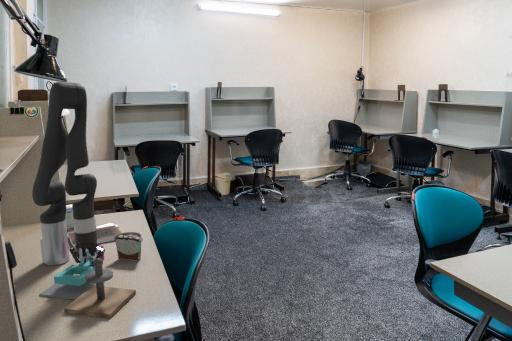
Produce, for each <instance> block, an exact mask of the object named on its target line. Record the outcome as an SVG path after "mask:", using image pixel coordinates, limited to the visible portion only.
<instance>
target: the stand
mask: <svg viewBox="0 0 512 341" xmlns="http://www.w3.org/2000/svg"><path fill="white" fill-rule="evenodd" d="M93 265H94V266H95V270H94V271H91V272H89V273H87V274H86V276H85V280H86V281H87V282H89V283H96V286H92V287H91V288H90V289H88V290H87V291H86V292H84V293H83V294H82V295H81V296H79V297H78V298H77V299H75V300H72V302H70V303H69V304H68V305H66V306H65V307H64V308H63V313H64V314H71V315H80V316H85V317H94V318H95V317H96V318H103V319H111V318H112V317H113V316H115V315H116V314H117V313H118V312H119V311H120V310H121V309H122V308H123V307H124V306H125V305H126V304H127V303H128V302H129V301H131V299H132V298H133V297H134V296H135V295H137V291H136V289H131V288H122V287H121V288H120V287H113V286H105V283H106V282H107V281H109V280H111V279H112V278H113V277H114V271H113V270H112V269H109V268H103V265H104V259H103V260H102V259H101V258H96V259H95V260H94V262H93Z"/></svg>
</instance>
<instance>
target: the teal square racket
mask: <svg viewBox="0 0 512 341" xmlns="http://www.w3.org/2000/svg"><path fill="white" fill-rule="evenodd" d="M94 270H95V267H92V266H90V263H89V261H87V262H86V263H84V264H83V265H81V264H79V265H78V264H71V265H69V266H67V268H65V269H63V270H62V271H60V272H59V273H57V274H56V275H54V276H53V282H54V284H66V285H76V286H81V285H82V284H84V283H85V282H87V281H86V280H85V276H86V274H87V273H89V272H91V271H94ZM73 275H79V276H73Z"/></svg>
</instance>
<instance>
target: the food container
mask: <svg viewBox="0 0 512 341" xmlns="http://www.w3.org/2000/svg"><path fill="white" fill-rule="evenodd" d="M114 240H115V241H114V242H115V245H116V251H117V253H116V254H117V258H118V260H126V261H134V262H135V261H136V262H140V261H141V258H142V257H141V256H142V255H141V254H142V243H143V241H144V239H143V236H142V234H141V233H140V232H135V231H129V232H128V231H127V232H121V233H120V234H117V235H115V237H114Z"/></svg>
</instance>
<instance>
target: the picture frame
mask: <svg viewBox="0 0 512 341" xmlns="http://www.w3.org/2000/svg"><path fill="white" fill-rule="evenodd" d="M96 230H97V244H98V245H100V244H103V243H110V242H116V241H115V240H114V237H115V235H117V234H120V233H122V232H121V230H120V229H119V228H117V227H116V226H115V225H114V226H108V227H102V228H97V229H96ZM67 236H68V241H69V242H70V243H71V245H72V247H74V246H75V245H76V243H75V236H74V231H73V232H67Z"/></svg>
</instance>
